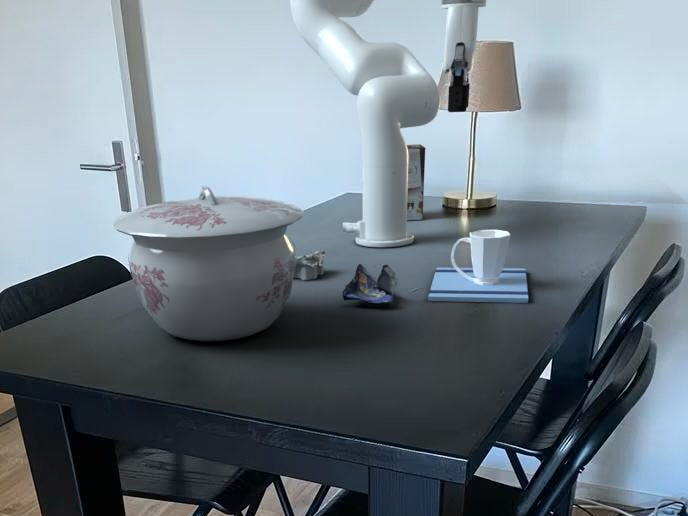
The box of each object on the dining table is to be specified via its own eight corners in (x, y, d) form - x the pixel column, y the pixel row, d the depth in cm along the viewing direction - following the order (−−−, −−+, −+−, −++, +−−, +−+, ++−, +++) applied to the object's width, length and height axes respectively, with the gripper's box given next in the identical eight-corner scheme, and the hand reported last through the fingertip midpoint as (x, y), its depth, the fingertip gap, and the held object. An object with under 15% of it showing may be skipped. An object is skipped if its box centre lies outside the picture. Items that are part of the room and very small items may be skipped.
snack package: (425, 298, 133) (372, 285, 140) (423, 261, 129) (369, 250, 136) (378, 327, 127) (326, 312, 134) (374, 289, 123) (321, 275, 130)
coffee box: (423, 220, 192) (426, 147, 184) (397, 221, 193) (398, 148, 184) (419, 213, 200) (421, 143, 192) (393, 214, 200) (395, 144, 192)
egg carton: (328, 272, 151) (328, 250, 149) (310, 282, 145) (310, 259, 143) (279, 268, 155) (278, 246, 153) (260, 277, 149) (258, 255, 147)
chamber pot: (239, 370, 106) (225, 206, 96) (91, 342, 119) (65, 195, 109) (342, 314, 126) (340, 175, 116) (206, 296, 139) (193, 168, 129)
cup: (500, 288, 133) (504, 238, 129) (443, 283, 137) (445, 235, 133) (511, 278, 138) (516, 230, 134) (456, 274, 143) (459, 227, 139)
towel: (428, 301, 131) (428, 295, 131) (436, 271, 148) (436, 266, 148) (527, 303, 128) (528, 297, 127) (524, 272, 145) (525, 267, 144)
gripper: (444, 1, 143) (440, 107, 152) (438, -4, 128) (433, 114, 137) (487, -2, 142) (480, 106, 150) (485, -7, 127) (478, 112, 136)
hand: (458, 109), depth 144 cm, fingers open, 9 cm apart
